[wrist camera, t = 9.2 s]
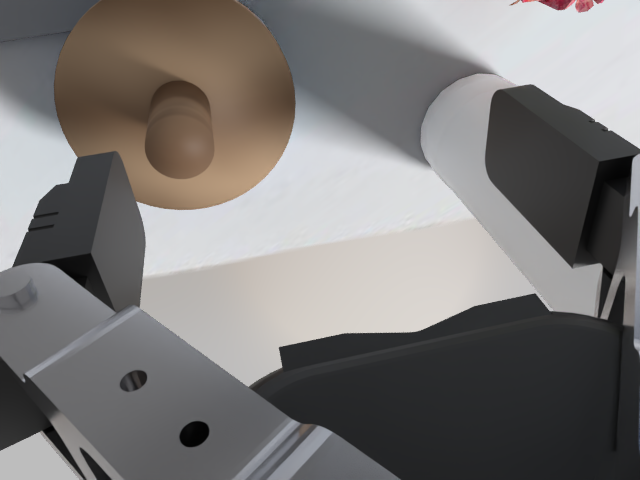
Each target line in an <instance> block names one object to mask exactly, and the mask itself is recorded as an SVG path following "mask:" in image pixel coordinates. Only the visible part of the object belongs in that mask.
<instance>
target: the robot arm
mask: <svg viewBox="0 0 640 480" xmlns="http://www.w3.org/2000/svg"><path fill="white" fill-rule="evenodd" d="M485 166H486V171H487V174H488V177H489V179H490V181H491V182H492V183H493V184H494V186H495V187H496V188H497V189H498V190H499V191H500V192H501V193H502V194H503V195H504V196H505V197H506V198H507V199H508V200H509V202H510V203H511V204H512V205H513V206H514V207H515V208H516V209H517V210H518V211H519V212H520V213H521V214H522V215H523V216H524V218H525V219H526V220H527V221H528V222H529V223H530V224H531V225H532V226H533V227H534V228H535V229H536V230H537V231H538V232H539V234H540V235H541V236H542V237H543V238H544V239H545V240H546V241H547V242H548V243H549V244H550V245H551V246H552V247H553V248H554V250H555V251H556V252H557V253H558V254H559V255H560V256H561V257H562V258H563V259H564V260H565V261H566V262H567V263H568V264H569V266H570V267H571V268H572V269H574V268H579V267H583V266H588V265H593V264H598V263H600V264H601V265H602V268H601V272H600V275H599V279H598V284H597V293H596V302H595V310H594V317H593V316H589V315H583V314H577V313H570V312H557V311H549V310H548V309H547V307H546V306H545V305H544V304H543V303H542V301H541V300H540V299H539V298H538V296H537V295H536V294H530V295H526V296H521V297H516V298H511V299H507V300H502V301H497V302H492V303H488V304H483V305H478V306H474V307H472V308H470V309H468V310H465V311H463V312H461V313H459V314H457V315H454V316H452V317H450V318H448V319H445V320H443V321H441V322H439V323H437V324H435V325H432V326H430V327H428V328H426V329H423V330H421V331H418V332H410V333H350V334H349V333H347V334H340V335H335V336H331V337H326V338H321V339H316V340H311V341H307V342H302V343H297V344H292V345H288V346H283V347H279V351H280V356H281V362H282V368H280V369H278V370H276V371H274V372H272V373H270V374H268V375H267V376H265V377H263V378H261V379H259V380H258V381H256V382H255V383H253V384H252V385H251V386H249V387H247V386H246V385H244V384H243V383H242V382H240V381H239V380H238V379H236V378H235V377H234V376H232V375H231V374H229V373H228V372H227V371H225V370H224V369H223V368H221V367H220V366H218V365H217V364H215V363H214V362H213V361H211V360H210V359H209V358H207V357H206V356H205V355H203V354H202V353H201V352H199V351H198V350H196V349H195V348H194V347H192V346H191V345H190V344H188V343H187V342H186V341H184V340H183V339H181V338H180V337H179V336H177V335H176V334H175V333H173V332H172V331H170V330H169V329H168V328H166V327H165V326H164V325H162V324H161V323H159V322H158V321H157V320H155V319H154V318H153V317H151V316H150V315H149V314H147V313H146V312H144V311H143V310H141V309H140V308H139V307H140V297H141V286H142V276H143V266H144V255H145V232H144V226H143V222H142V218H141V215H140V212H139V209H138V206H137V203H136V200H135V197H134V194H133V191H132V188H131V185H130V182H129V179H128V176H127V173H126V170H125V167H124V164H123V161H122V159H121V157H120V155H119V153H118V152H117V151H112V152H106V153H100V154H94V155H88V156H82V157H78V158H77V160H76V163H75V166H74V169H73V172H72V175H71V178H70V181H69V183H66V184H60V185H56V186H55V187H54V188H53V189H51V190H50V191H49V192H48V193H47V194H46V195H45V196H44V197H43V198H42V199H41V200H40V201H39V203H38V206H37V208H36V211H35V213H34V215H33V217H34V219H32V220H31V223H30V225H29V228H28V231H29V232H26V235H25V237H24V240H23V242H22V245H21V247H20V249H19V252H18V254H17V257H16V259H15V262H14V264H13V266H12V268H10V269H7V270H4V271H2V272H0V451H1V450H3V449H5V448H7V447H9V446H11V445H13V444H15V443H17V442H19V441H21V440H24V439H26V438H28V437H30V436H32V435H34V434H36V433H38V432H40V433H41V435H42V436H43V437H44V438H45V439H46V441H47V442H48V443H49V444H50V445H51V447H52V448H53V449H54V450H55V451H56V452H57V454H59V456H60V457H61V458H62V459H63V460H64V462H65V463H66V464H67V465H68V467H70V469H71V470H72V471H73V472H74V474H75V475H76V476H77V477H78V478H79V479H80V480H640V149H639V148H637V147H636V146H634V145H633V144H631V143H630V142H628V141H627V140H625V139H624V138H622V137H620V136H619V135H617V134H616V133H614V132H613V131H608V128H607V127H605V126H603V125H602V124H600V123H599V122H595V120H594V119H593V118H591V117H590V116H588V115H586V114H585V113H583V112H582V111H580V110H578V109H575V108H572V107H569V106H566V105H563V104H562V103H560V102H559V101H557V100H556V99H554V98H553V97H551V96H549V95H548V94H546V93H545V92H543V91H542V90H540V89H539V88H537V87H536V86H534V85H531V84H530V85H524V86H518V87H511V88H505V89H499V90H497V91H496V92H495V93H494V94H493V96H492V99H491V105H490V114H489V123H488V132H487V141H486V150H485Z"/></svg>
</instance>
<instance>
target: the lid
mask: <svg viewBox="0 0 640 480" xmlns="http://www.w3.org/2000/svg"><path fill="white" fill-rule="evenodd" d="M54 98H55V105H56V111H57V116H58V119H59V122H60V125H61V128H62V131H63V133H64V135H65V137H66V139H67V141H68V143H69V145H70V146H71V148H72V149H73V151H74V153H75V154H76V156H77V157H82V156H88V155H94V154H100V153H106V152H112V151H117V152H118V153H119V155H120V157H121V159H122V161H123V164H124V167H125V170H126V173H127V176H128V179H129V182H130V185H131V188H132V191H133V194H134V197H135V200H136V201H137V202H140V203H143V204H147V205H150V206H154V207H159V208H164V209H175V210H193V209H201V208H207V207H211V206H215V205H219V204H222V203H225V202H227V201H230V200H233V199H235V198H236V197H238V196H240V195H242V194H244V193H246V192H247V191H249V190H250V189H252V188H253V187H254V186H256V185H257V184H258V183H259V182H260V181H261V180H263V179H264V178H265V177H266V176H267V175H268V173H269V172H270V171H271V170H272V169H273V168H274V167H275V165H276V164H277V162H278V161H279V159H280V158H281V156H282V154H283V152H284V150H285V148H286V146H287V144H288V141H289V138H290V135H291V132H292V128H293V123H294V118H295V90H294V85H293V80H292V75H291V72H290V69H289V66H288V64H287V61H286V59H285V57H284V55H283V53H282V51H281V49H280V47H279V45H278V43H277V41H276V40H275V38H274V37H273V35H272V34H271V32H270V31H269V29H268V28H267V27H266V26H265V25H264V24H263V22H262V21H261V20H260V19H259V18H258V17H257V16H256V15H255V14H254V13H253V12H251V11H250V10H249V9H248V8H247V7H246V6H244V5H243V4H241V3H240V2H239V1H237V0H100V1H98V2H97V3H96V4H95V5H93V6H92V7H91V8H90V9H89V10H88V11H87V12H86V13H85V14H84V15H83V16H82V17H81V19H80V20H79V21H78V22H77V24H76V25H75V26H74V28H73V30H72V31H71V33H70V34H69V36H68V37H67V39H66V41H65V43H64V45H63V48H62V50H61V52H60V55H59V59H58V62H57V66H56V71H55V80H54Z"/></svg>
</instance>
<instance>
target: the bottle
mask: <svg viewBox="0 0 640 480" xmlns="http://www.w3.org/2000/svg"><path fill="white" fill-rule="evenodd" d="M511 87H518V86H517V85H515V84H514V83H512V82H510V81H508V80H506V79H503V78H501V77H500V76H498V75H495V74H479V73H478V74H474V75H471V76H468V77H465V78H461V79H459V80H457V81H456V82H454V83H453V84H451V85H450V86H448V87H447V88H446V89H444V90H443V91H441V93H440V94H439V95H438V96H437V98H436V99H435V100H434V101H433V103H432V104H431V105H430V106H429V108H428V110H427V113H426V115H425V118H424V120H423V123H422V125H421V141H420V144H421V147H422V150H423V153H424V156H425V159H426V160H427V161H428V162H429V164H430V165H431V168H432V169H433V171H434V172H435V173H436V174H437V175H438V176H439V177H440V179H441V180H442V181H443V182H444V183H445V184H446V185H447V186H448V187H449V188H450V189H451V190H452V191H453V192H454V193H455V194H456V196H457V197H458V198H459V199H460V200H461V201H462V203H463V204H464V205H465V206H466V207H467V209H468V210H469V211H470V212H471V213H472V214H473V216H474V217H475V218H476V219H477V220H478V222H479V223H480V224H481V225H482V226H483V227H484V229H485V230H486V231H487V232H488V233H489V234H490V236H491V237H492V238H493V239H494V241H496V243H497V244H498V245H499V246H500V248H501V249H502V250H503V251H504V252H505V253H506V255H507V256H508V257H509V258H510V259H511V261H512V262H513V263H514V264H515V265H516V266H517V268H518V269H519V270H520V271H521V273H522V274H523V275H524V276H525V277H526V278H527V279H528V281H529V282H530V283H531V284H532V286H533V287H534V288H535V289H536V290H537V291H538V292H539V294H540V295H541V296H542V297H543V299H544V300H545V301H546V302H547V303H548V305H549V306H550V307H551V308H552V309H553V310H554V311H557V312H570V313H577V314H583V315H589V316H593V317H594V310H595V302H596V293H597V284H598V279H599V275H600V272H601V268H602V265H601V264H600V263H598V264H593V265H588V266H583V267H579V268H574V269H572V268H571V267H570V266H569V264H568V263H567V262H566V261H565V260H564V259H563V258H562V257H561V256H560V255H559V254H558V253H557V252H556V251H555V250H554V248H553V247H552V246H551V245H550V244H549V243H548V242H547V241H546V240H545V239H544V238H543V237H542V236H541V235H540V234H539V232H538V231H537V230H536V229H535V228H534V227H533V226H532V225H531V224H530V223H529V222H528V221H527V220H526V219H525V218H524V216H523V215H522V214H521V213H520V212H519V211H518V210H517V209H516V208H515V207H514V206H513V205H512V204H511V203H510V202H509V200H508V199H507V198H506V197H505V196H504V195H503V194H502V193H501V192H500V191H499V190H498V189H497V188H496V187H495V186H494V184H493V183H492V182H491V181H490V179H489V177H488V174H487V171H486V166H485V150H486V141H487V132H488V123H489V114H490V105H491V99H492V96H493V94H494V93H495V92H496V91H497V90H499V89H505V88H511Z"/></svg>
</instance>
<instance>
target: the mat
mask: <svg viewBox="0 0 640 480" xmlns="http://www.w3.org/2000/svg"><path fill="white" fill-rule="evenodd" d="M98 1H100V0H0V42H4V41H10V40H17V39H23V38H30V37H36V36H42V35H49V34H55V33H62V32H68V31H72V30H73V28H74V26H75V25H76V24H77V22H78V21H79V20H80V19H81V17H82V16H83V15H84V14H85V13H86V12H87V11H88V10H89V9H90V8H91V7H92V6H93V5H95V4H96V3H97V2H98Z"/></svg>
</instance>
